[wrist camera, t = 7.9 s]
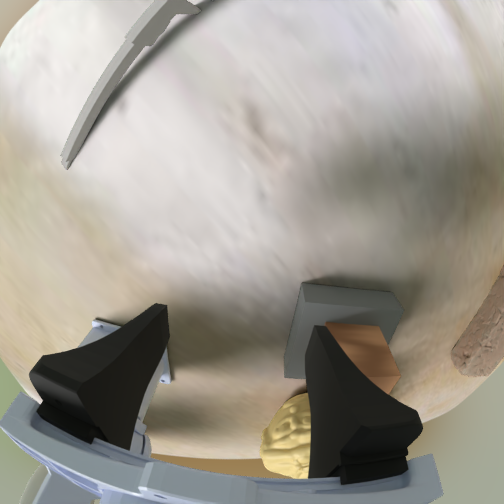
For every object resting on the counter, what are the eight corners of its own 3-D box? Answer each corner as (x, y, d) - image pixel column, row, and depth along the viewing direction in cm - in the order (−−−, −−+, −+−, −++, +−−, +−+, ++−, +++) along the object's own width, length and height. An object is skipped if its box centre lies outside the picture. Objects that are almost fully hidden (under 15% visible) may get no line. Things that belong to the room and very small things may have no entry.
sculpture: (337, 364, 27) (353, 448, 17) (367, 408, 30) (381, 472, 21) (250, 397, 30) (242, 473, 20) (295, 433, 34) (296, 494, 24)
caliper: (210, -6, 14) (191, -44, 8) (219, -1, 14) (201, -39, 8) (63, 163, 20) (18, 175, 15) (69, 170, 21) (24, 183, 15)
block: (310, 363, 23) (316, 416, 18) (325, 321, 21) (337, 376, 16) (359, 365, 23) (372, 415, 17) (378, 326, 21) (401, 376, 15)
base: (283, 356, 27) (284, 377, 24) (301, 282, 23) (305, 302, 20) (362, 360, 27) (369, 380, 24) (392, 292, 23) (404, 310, 20)
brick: (511, 241, 20) (535, 258, 16) (533, 262, 20) (553, 278, 16) (444, 352, 27) (458, 377, 22) (474, 358, 27) (487, 379, 23)
